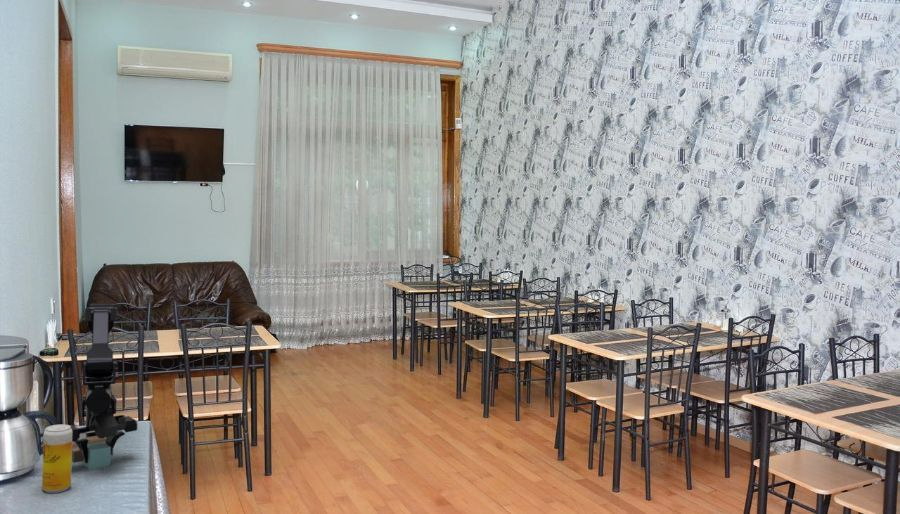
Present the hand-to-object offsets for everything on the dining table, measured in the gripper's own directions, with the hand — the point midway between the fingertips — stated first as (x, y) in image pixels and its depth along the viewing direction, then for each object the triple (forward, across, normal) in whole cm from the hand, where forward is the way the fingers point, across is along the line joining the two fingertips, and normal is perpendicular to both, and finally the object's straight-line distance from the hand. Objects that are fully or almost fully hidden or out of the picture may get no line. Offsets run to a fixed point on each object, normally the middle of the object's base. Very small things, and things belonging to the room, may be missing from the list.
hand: (96, 460), depth 188 cm
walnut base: (+1, +1, +10) cm, 10 cm away
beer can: (+1, -13, -11) cm, 17 cm away
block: (+1, 0, 0) cm, 1 cm away
